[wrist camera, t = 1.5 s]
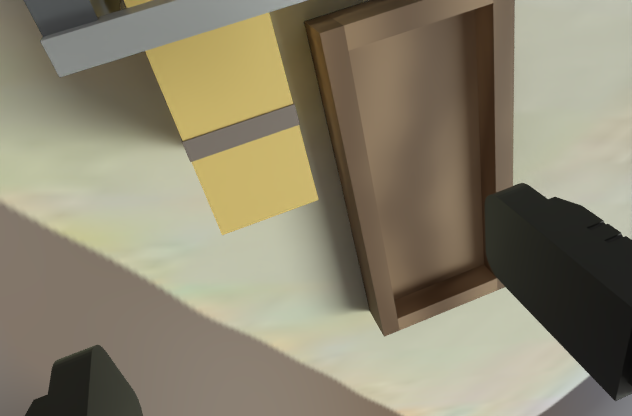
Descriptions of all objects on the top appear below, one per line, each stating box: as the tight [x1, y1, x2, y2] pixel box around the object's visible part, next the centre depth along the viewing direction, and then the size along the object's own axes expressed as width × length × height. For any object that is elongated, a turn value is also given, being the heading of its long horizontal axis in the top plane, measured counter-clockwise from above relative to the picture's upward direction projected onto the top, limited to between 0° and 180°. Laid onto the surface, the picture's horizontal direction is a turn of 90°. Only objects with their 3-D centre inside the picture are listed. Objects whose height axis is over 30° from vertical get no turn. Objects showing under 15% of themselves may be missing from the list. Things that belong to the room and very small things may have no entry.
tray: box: [304, 0, 515, 336], centre depth 26 cm, size 8×18×2 cm, turn 13°
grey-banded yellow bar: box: [124, 0, 318, 235], centre depth 16 cm, size 4×13×7 cm, turn 13°
